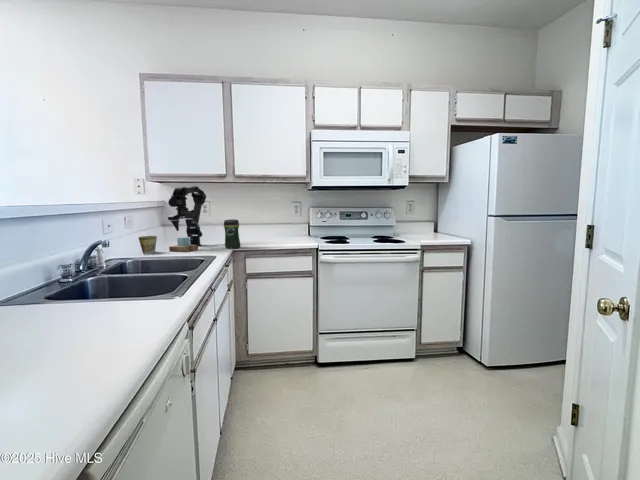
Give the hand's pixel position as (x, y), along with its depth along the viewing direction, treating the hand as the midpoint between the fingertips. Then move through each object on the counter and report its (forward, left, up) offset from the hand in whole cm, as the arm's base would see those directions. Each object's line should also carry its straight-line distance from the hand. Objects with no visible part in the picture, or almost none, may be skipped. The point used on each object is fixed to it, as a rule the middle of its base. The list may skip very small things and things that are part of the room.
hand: (183, 230), depth 231 cm
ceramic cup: (+21, -7, -12) cm, 25 cm away
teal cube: (+8, +8, -9) cm, 14 cm away
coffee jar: (-11, +31, -12) cm, 35 cm away
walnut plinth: (+8, +8, -12) cm, 16 cm away
